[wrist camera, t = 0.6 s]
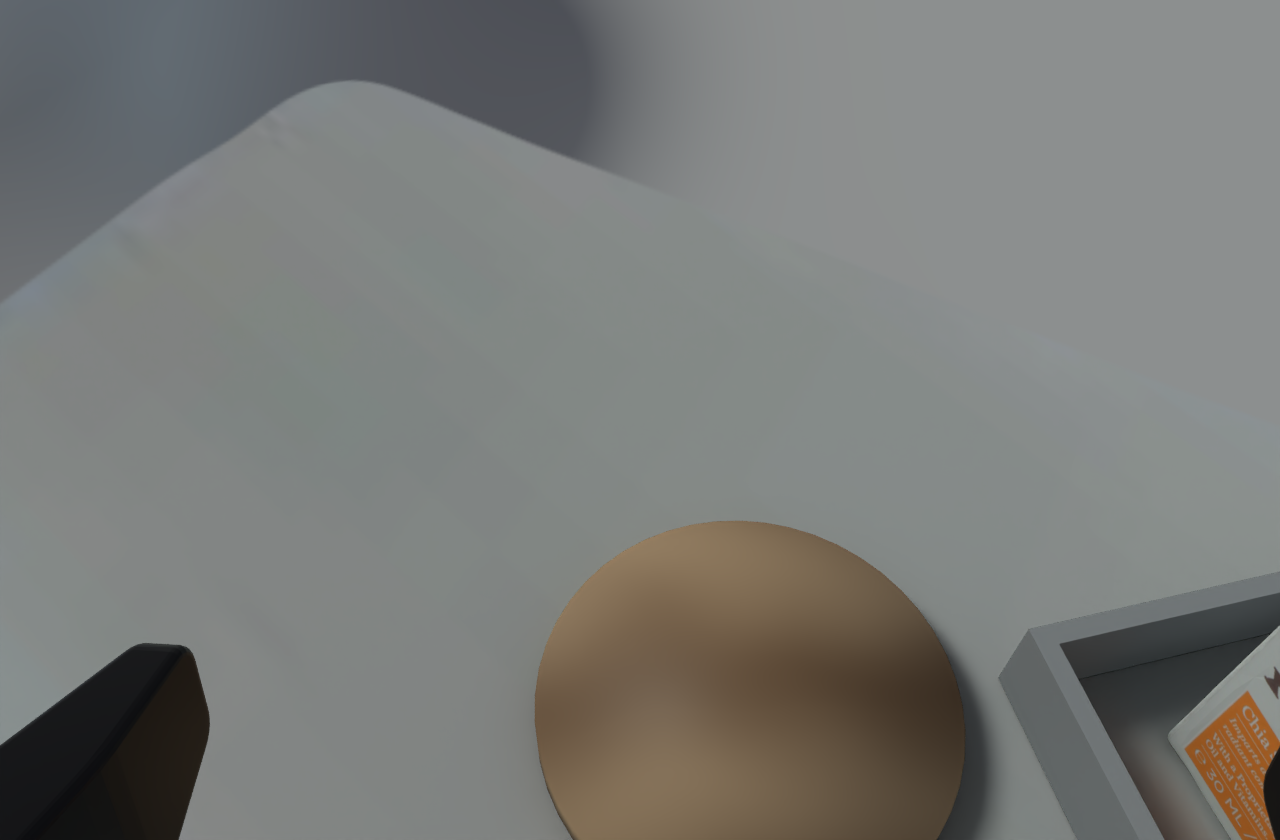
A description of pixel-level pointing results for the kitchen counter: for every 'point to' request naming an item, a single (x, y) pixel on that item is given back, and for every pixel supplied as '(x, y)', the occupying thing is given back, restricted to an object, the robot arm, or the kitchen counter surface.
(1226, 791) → the skincare box
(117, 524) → the kitchen counter surface
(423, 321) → the kitchen counter surface
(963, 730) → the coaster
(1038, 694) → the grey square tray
